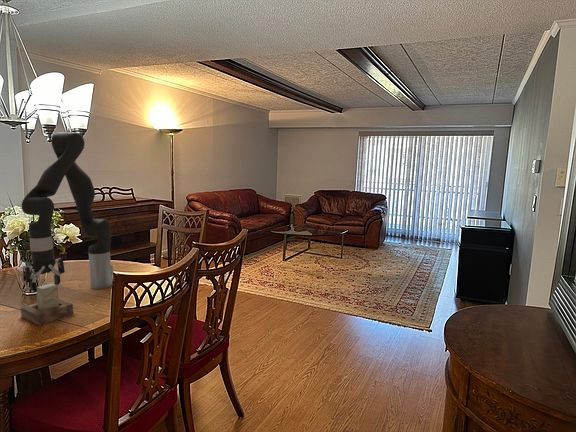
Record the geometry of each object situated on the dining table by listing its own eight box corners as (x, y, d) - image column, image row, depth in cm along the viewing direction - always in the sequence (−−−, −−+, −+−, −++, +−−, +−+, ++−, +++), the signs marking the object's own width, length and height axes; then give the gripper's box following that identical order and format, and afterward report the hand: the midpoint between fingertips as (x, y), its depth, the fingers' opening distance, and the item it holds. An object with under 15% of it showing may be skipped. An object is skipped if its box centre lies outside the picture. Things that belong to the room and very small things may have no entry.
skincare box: (44, 319, 149) (41, 289, 147) (38, 316, 152) (35, 287, 150) (60, 313, 155) (58, 284, 153) (54, 311, 157) (51, 282, 155)
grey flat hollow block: (55, 306, 161) (54, 297, 161) (73, 313, 155) (72, 304, 154) (21, 317, 150) (20, 307, 150) (39, 325, 144) (38, 315, 143)
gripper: (55, 242, 156) (58, 280, 159) (16, 250, 144) (21, 291, 147) (66, 245, 152) (69, 284, 155) (27, 253, 140) (31, 295, 143)
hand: (46, 287), depth 151 cm, fingers open, 8 cm apart
